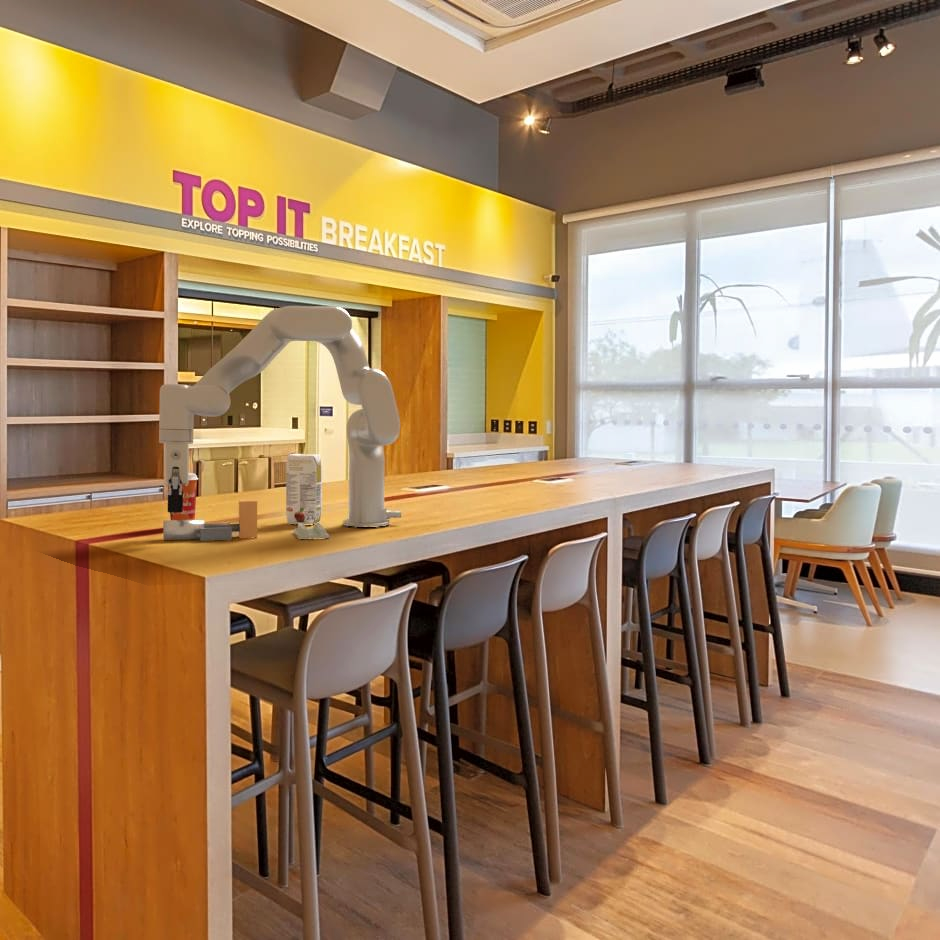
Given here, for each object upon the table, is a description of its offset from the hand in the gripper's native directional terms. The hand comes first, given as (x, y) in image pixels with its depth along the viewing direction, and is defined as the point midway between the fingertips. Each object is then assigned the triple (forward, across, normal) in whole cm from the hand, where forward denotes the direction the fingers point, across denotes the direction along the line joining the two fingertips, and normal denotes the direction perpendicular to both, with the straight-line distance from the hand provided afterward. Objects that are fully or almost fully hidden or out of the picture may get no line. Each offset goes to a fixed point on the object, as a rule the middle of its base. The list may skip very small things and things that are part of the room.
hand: (175, 509), depth 186 cm
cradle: (+6, -1, -32) cm, 32 cm away
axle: (+7, 0, -2) cm, 7 cm away
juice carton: (+7, +19, -33) cm, 38 cm away
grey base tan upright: (+7, 0, -13) cm, 14 cm away
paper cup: (+7, +18, -2) cm, 20 cm away
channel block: (+7, 0, -9) cm, 12 cm away
